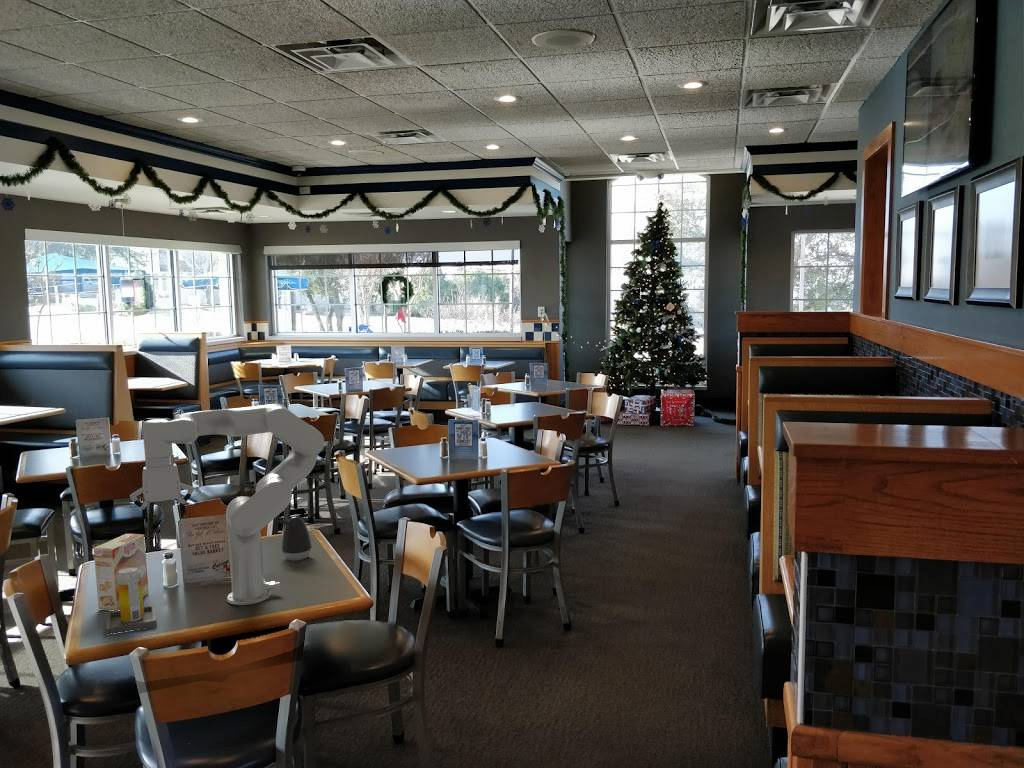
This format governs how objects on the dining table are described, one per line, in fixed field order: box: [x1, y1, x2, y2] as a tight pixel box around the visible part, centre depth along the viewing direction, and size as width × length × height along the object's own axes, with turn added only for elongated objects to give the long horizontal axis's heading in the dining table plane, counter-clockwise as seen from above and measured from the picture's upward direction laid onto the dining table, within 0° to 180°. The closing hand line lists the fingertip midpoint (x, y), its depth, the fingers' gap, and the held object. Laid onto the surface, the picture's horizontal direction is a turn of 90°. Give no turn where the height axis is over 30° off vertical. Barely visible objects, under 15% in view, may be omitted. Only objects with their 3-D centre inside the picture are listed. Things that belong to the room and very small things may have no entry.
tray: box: [105, 604, 158, 635], centre depth 245 cm, size 13×13×2 cm
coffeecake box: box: [93, 533, 150, 611], centre depth 260 cm, size 15×7×20 cm, turn 167°
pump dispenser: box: [278, 515, 313, 562], centre depth 297 cm, size 10×10×15 cm
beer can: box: [117, 567, 144, 624], centre depth 244 cm, size 6×6×15 cm
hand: (164, 519), depth 249 cm, fingers open, 9 cm apart
